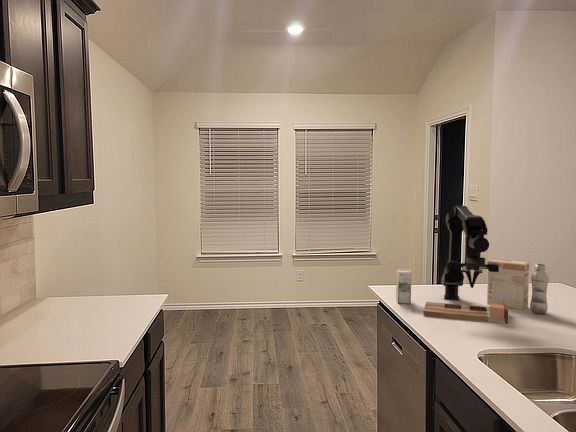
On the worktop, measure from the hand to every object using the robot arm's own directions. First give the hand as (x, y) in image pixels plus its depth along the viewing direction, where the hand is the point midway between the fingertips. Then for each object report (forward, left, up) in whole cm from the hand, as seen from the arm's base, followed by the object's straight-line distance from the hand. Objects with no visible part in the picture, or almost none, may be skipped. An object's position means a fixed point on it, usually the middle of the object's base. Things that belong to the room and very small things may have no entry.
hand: (471, 287), depth 186 cm
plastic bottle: (-16, +26, -13) cm, 33 cm away
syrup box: (-15, -28, -13) cm, 34 cm away
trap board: (-4, -3, -12) cm, 13 cm away
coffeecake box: (-24, +15, -13) cm, 31 cm away
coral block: (+1, +9, -10) cm, 14 cm away
